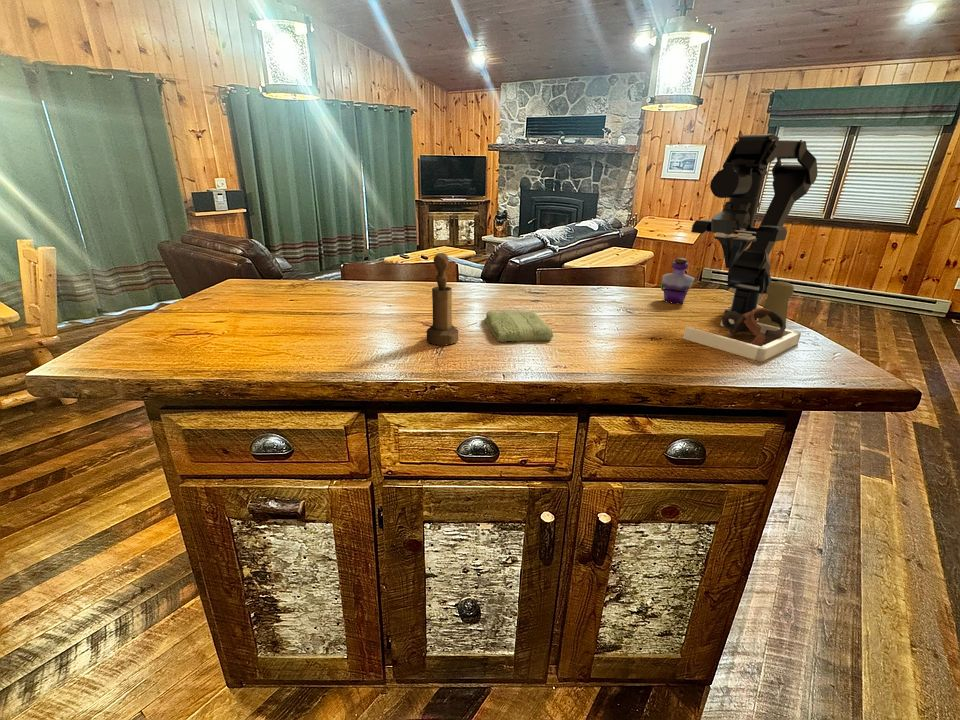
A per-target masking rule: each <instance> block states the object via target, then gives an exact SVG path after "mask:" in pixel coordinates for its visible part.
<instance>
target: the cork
mask: <svg viewBox="0 0 960 720" xmlns="http://www.w3.org/2000/svg"><path fill="white" fill-rule="evenodd" d="M794 291H795V287H794V285H793V283H790V282H787V281H781V280H779V281H777V280H776V281H772V282H771V283H770V284H769V285H768V287H767V296H766V300H765V302H764V305H763V306H762V308H765V309H768V310H771V311H774V312H776V313H777V314H779V315H780V316H781V317H782V318H783V319H784V321H785V323H786V324H787V316H788V307H789V299H790V297H792V295H793V294H794ZM756 322H758V323H762V324H766V325H771V326H775V327H779V328H780V326H779V324H777V323H774V322H772V321H771V318H770V317H769V316H768V315H766V316H765V317H763V318H758V319H757V320H756Z"/></svg>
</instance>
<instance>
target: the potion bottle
mask: <svg viewBox="0 0 960 720" xmlns="http://www.w3.org/2000/svg"><path fill="white" fill-rule="evenodd" d="M689 265H690V263H688V259H687V258H685V257H676V258H675V260H674V261H673V262H672V263H671V269H673V272H671V273H665V274H663V275H662V276H661V283H660V289H661V291H663V301H664V300H665V301H667V302H672V303H671V304H673V303H679V304H681V305H682V304H684V303H685V299H686V297H687V295H688V292H689V290H690V289H691V287H692V285H693V283H694V281H695V277H693V276H691V275H689V274H685V271H686V270H688V269H689V267H690V266H689ZM665 301H664V302H665ZM667 302H666V303H667ZM683 302H684V303H683ZM679 304H678V305H679Z"/></svg>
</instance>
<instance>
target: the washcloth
mask: <svg viewBox="0 0 960 720" xmlns="http://www.w3.org/2000/svg"><path fill="white" fill-rule="evenodd" d="M485 315H486V317H485V318H484V321H485V322H486V323H485V322H484V323H485V324H486V326H487V327H488V329H489V330H490V332H491V334H492V335H493V336H494V337H495V339H496V338H497V339H496V340H497V342H499V341H500V342H499V343H508V342H507V341H512V342H513V343H515V342H514V341H516V343H521V342H528V341H529V342H531V341H532V342H549V341H552V338H553V337H554V333H553V330H552V328H551V327H550V326H549V325H548V324H546V323H545V321H544V320H543V319H542V318H541V317H540V316H539V314H538V313H537V312H534V311H520V310H516V311H515V310H505V311H501V312H500V311H499V312H497V311H493V310H490V311H488V312H486V314H485Z"/></svg>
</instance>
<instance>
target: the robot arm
mask: <svg viewBox="0 0 960 720" xmlns="http://www.w3.org/2000/svg"><path fill="white" fill-rule="evenodd" d="M779 139H780V137H779V136H778V135H776V134H774V133H763V134H762V133H757V134H743V135H740V136H739V137H738V140H737V141H735V143H734V144H733V146H732V148H731V150H730V152H729V153H728V155H727V157H726V159H725V161H724V162H723V165H722V169H721V170H718V172H716V173H715V174H714V175H713V177H712V179H711V180H710V191H711V194H713V196H715V197H716V198H719V199H728V201H725V204H724V206H723V209H722V211H719V212H718V213H716V214H715V215H713V216H712V217H711V219H699V220H695V221H694V222H693V224H692V226H691V230H690V231H691V233H693V234H702V235H703V234H705V233H706V232H709V233H713V234H716V235H714V237H713V238H714V240H717V241H718V242H719V243H720V246H721V247H722V251H723V257H724V259H723V260H724V263H725V268H726V269H728V271H727V284H726V285H727V288H729V289H734V293H733V297H732V301H731V305H730V308H726V309H724V312H725V313H726V312H729V311H734V312H737V313H739V314H745V313H747V312H751V311H752V310H753V309H756V308H757V307H758V304H759V299H760V296H761V295H762V294H767V287H768V285H769V284H770V283H771V282H773V281H772V277H771V273H770V272H771V271H770V270H771V268H772V266H771V263H770V262H771V260H770V257H769V256H770V254H771V251H772V250H773V247H774V245H775V243H776V242H781V241H785V240H786V238H787V234H788V230H787V228H786V226H784V224H785V222H786V221H787V219H788V216H789V214H790V212H791V210H792V208H793V206H794V204H795V203H796V202H797V201H798V200H800V199H801V198H803V197H804V196H806V194H808V193H809V191H810V189H811V187H812V185H814V184H815V182H816V180H817V177H818V171H819V170H818V162H817V158H816V157H815V156H814V155H813V154H812V153H811V152H810V151H809V150H808V148H807V147H808V146H807V142H806V141H805V140H803V139H784V140H783V139H780V140H779ZM775 159H776V162H775V164H774V166H773V167H772V169H771V174H772V179H773V181H772V187H773V192H774V195H773V198H772V200H771V201H770V204H769V205H768V207H767V210H766V211H765V214H764V216H763V218H762V220H761V222H760V224H759V226H758V227H756V223H757V222H756V221H754V220H755V216H756V212H757V208H760V206H761V202H760V201H759V199H760V195H761V190H762V185H763V181H764V177H765V176H767V175H768V171H767V169H766V166H768V165H769V163H772V162H774V160H775ZM784 159H785V160H786V159H787V160H788V159H790V160H792V159H793V160H795V159H796V161H797V162H798V163H784V164H782V160H784ZM748 246H749V247H748ZM767 295H768V294H767Z"/></svg>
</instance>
